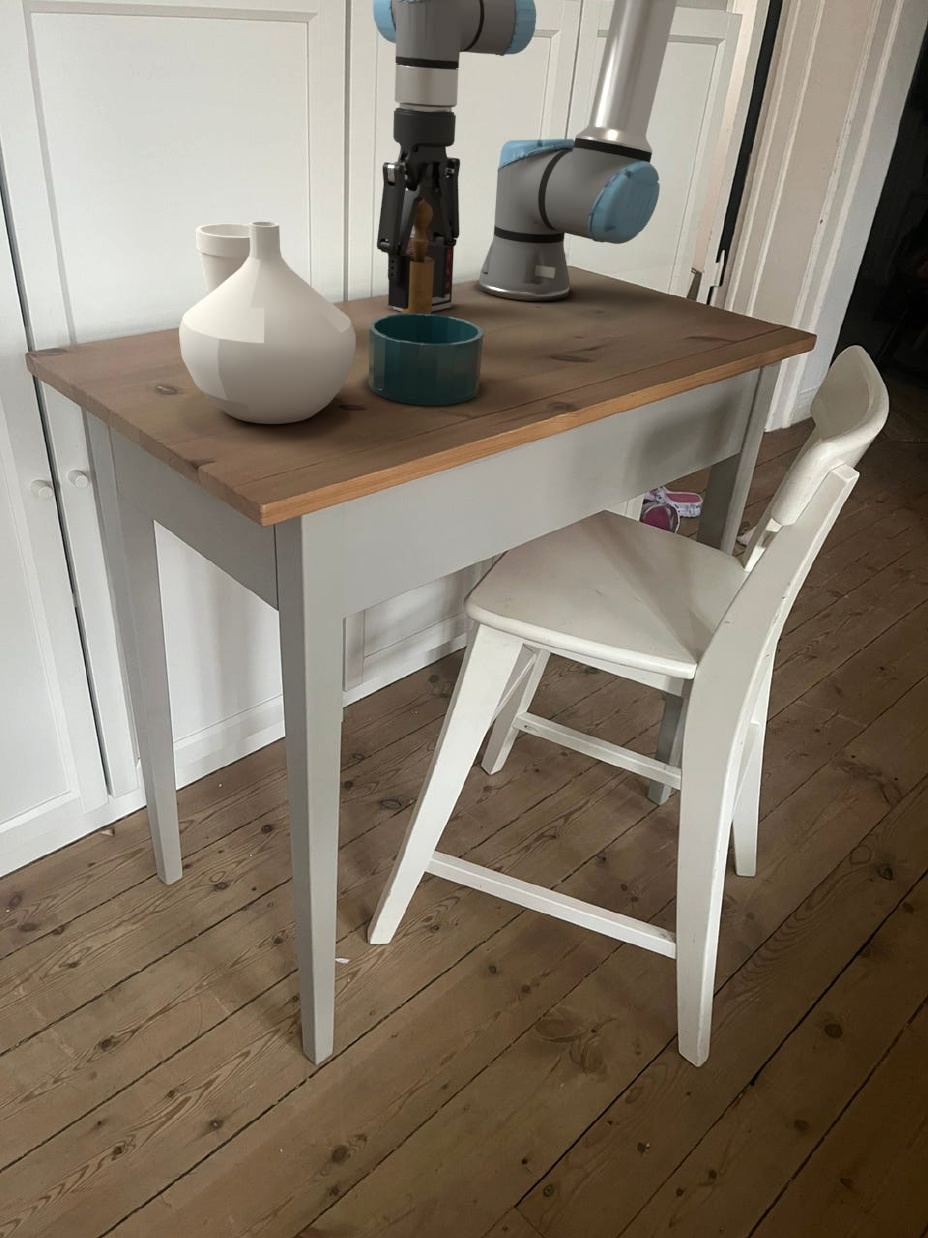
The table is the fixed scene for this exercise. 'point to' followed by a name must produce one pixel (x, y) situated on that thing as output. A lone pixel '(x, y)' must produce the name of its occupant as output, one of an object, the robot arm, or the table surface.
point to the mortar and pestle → (421, 264)
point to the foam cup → (222, 251)
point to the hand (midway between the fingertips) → (417, 300)
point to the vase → (267, 340)
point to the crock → (424, 358)
